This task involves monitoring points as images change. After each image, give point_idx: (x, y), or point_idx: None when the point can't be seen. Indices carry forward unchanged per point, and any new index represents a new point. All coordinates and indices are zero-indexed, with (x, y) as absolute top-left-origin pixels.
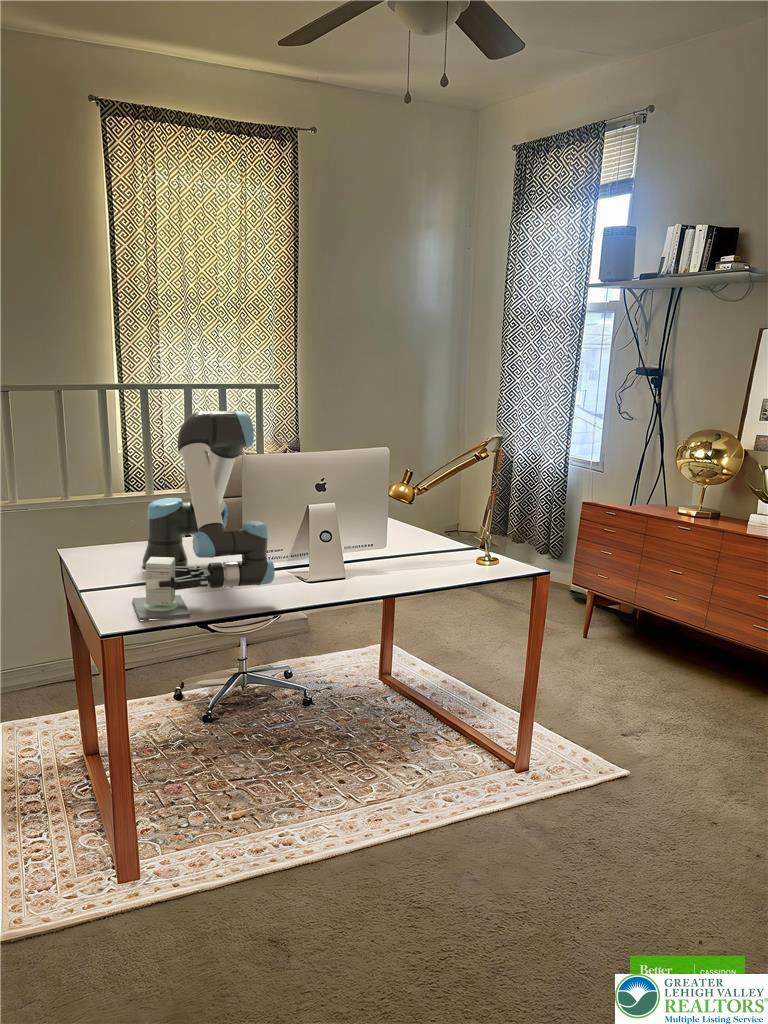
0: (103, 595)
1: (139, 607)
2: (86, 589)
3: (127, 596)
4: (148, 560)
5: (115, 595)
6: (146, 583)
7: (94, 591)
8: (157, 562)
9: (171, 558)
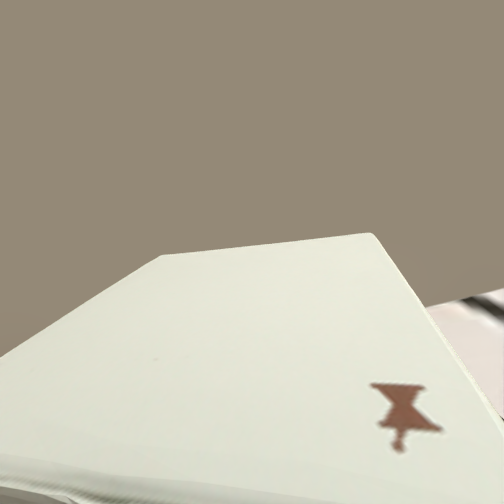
0: (452, 338)
1: None
2: (485, 299)
3: (494, 406)
4: (242, 247)
5: (477, 366)
6: None
7: (480, 315)
8: (126, 291)
9: (338, 420)
